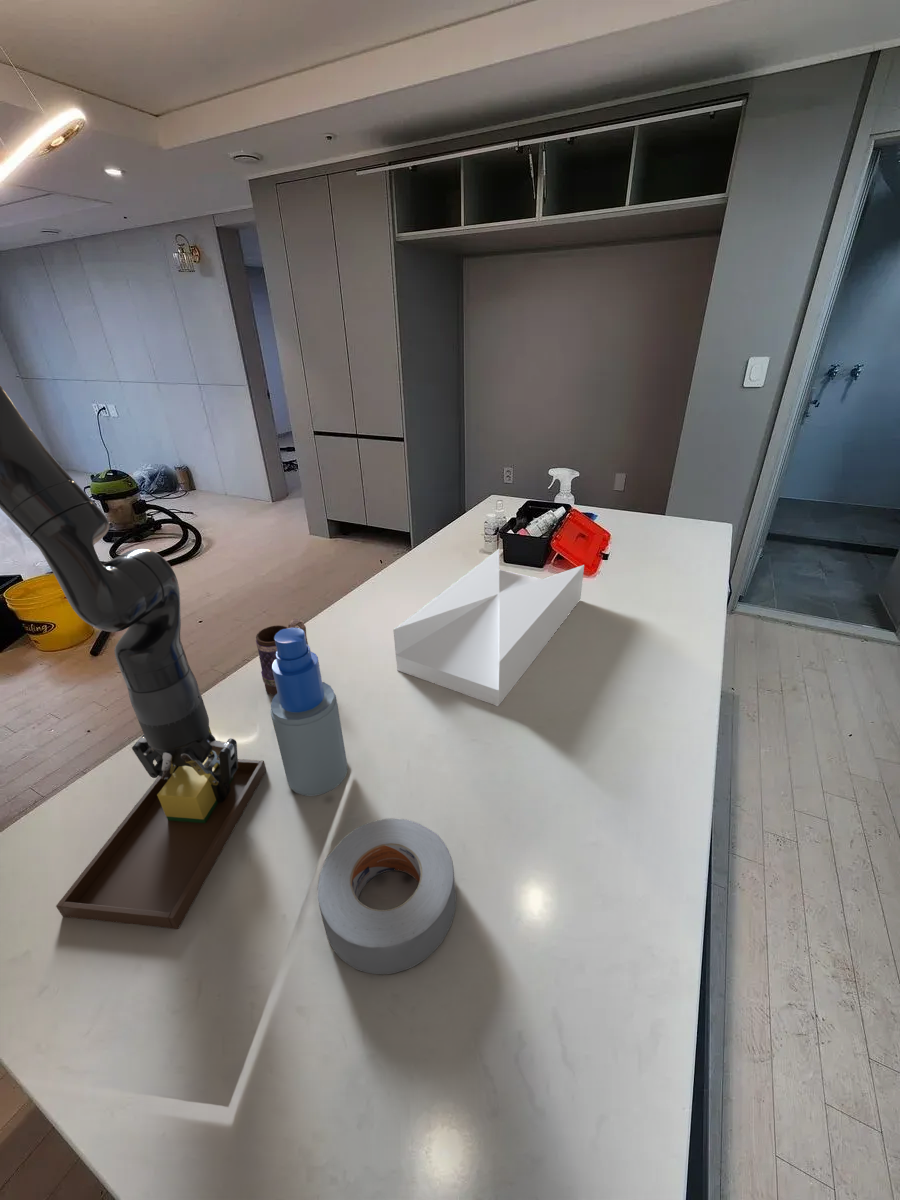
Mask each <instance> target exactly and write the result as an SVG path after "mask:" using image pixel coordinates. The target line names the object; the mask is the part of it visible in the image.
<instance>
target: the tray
mask: <svg viewBox="0 0 900 1200" xmlns="http://www.w3.org/2000/svg"><path fill="white" fill-rule="evenodd" d="M266 772H267V767H266V764H265V761H264V760H259V759H258V760H256V759H244V758H243V759H241V758H238V769H237V771H236V772H235V774H234V775H233V777H234V778H233V780H232V781H231V783H230V784H229V785H230V788H231V790H230V792H229V794H228V795H227V797H226V799H224V801H223V802H218V804H217V805H216V807H215V809H214V810H213V812H212V814H211V815H210V817H209V818H208V820H207V822H206V823H195V822H183V821H170V820H168V819H167V816H166V815H165V812H164V810H163V808H162V805H161V803H160V801H159V798H158V796H157V794H158V793H159V792H160V790H161V789H162V788H163V787H164V785H165V784H166V783H167V782H166V781H164V780H163V779H162V777H161V776H158V777H157V778H155V780H154V781H153V783H151V785H150V787H149V788H148V789H147V790H146V791H145V793H144V794H143V795H142V796H141V797H140V799H139V800H138V801H137V802H136V804H135V805H134V807H132V809H131V810H130V811H129V813H128V814H127V815H126V817H125V818H123V820H122V822H121V823H120V824H119V825H118V827H117V828H116V829H115V831H114V832H113V833H112V834H111V835H110V837H108V839H107V841H106V842H105V843H104V844H103V845H102V846H101V848H100V850H99V851H98V852H97V853H96V855H95V856H94V857H93V858H92V860H91V861H90V862H89V864H87V866H86V868H85V869H84V870H83V871H82V872H81V874H80V875H79V876H78V877H77V879H76V880H75V881H74V882H73V884H72V885H71V886H70V887H69V888H68V890H67V891H66V893H65V894H64V895H63V897H62V898H61V899H60V900H59V901H58V903H57V904H55V908H56V909H57V910H58V913H60V915H61V917H63V918H71V919H80V920H89V921H97V922H98V921H99V922H107V923H117V924H126V925H135V926H145V927H154V928H164V929H173V930H179V929H180V927H181V925H182V923H183V922H184V920H185V918H186V916H187V914H188V913H189V911H190V909H191V907H192V905H193V903H194V902H195V900H196V898H197V896H198V894H199V893H200V891H201V889H202V888H203V886H204V883H205V882H206V880H207V878H208V877H209V875H210V873H211V871H212V869H213V868H214V866H215V865H216V863H217V860H218V859H219V857H220V855H221V853H222V851H223V850H224V848H225V846H226V844H227V843H228V841H229V839H230V837H231V836H232V833H233V832H234V830H235V828H236V826H237V824H238V823H239V821H240V819H241V817H242V816H243V814H244V812H245V811H246V808H247V806H248V805H249V803H250V801H251V800H252V798H253V796H254V794H255V793H256V790H257V789H258V787H259V785H260V783H261V782H262V780H263V778H264V776H265V774H266Z"/></svg>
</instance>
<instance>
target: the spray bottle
mask: <svg viewBox="0 0 900 1200" xmlns="http://www.w3.org/2000/svg"><path fill="white" fill-rule="evenodd" d="M274 639H275V644H276V648H277V651H276V660H275V661H274V662H273V664H272V671H273V675H274V680H275V684H276V688H277V694H276V695H275V696H274V695H273V697H272V700H271V703H270V716H271V721H272V725H273V730H274V733H275V737H276V741H277V745H278V750H279V753H280V757H281V761H282V765H283V769H284V773H285V778H286V781H287V784H288V786H289V789H291V790H292V791H293V792H295V794H299V795H302V796H307V797H309V796H310V797H315V796H319V795H324V794H327V793H328V792H330V791H332V790H334V789H336V787H338V786H339V785H340V784H341V783H342V782H343V780H344V779H345V778H346V776H347V773H348V770H349V769H348V760H347V753H346V748H345V743H344V742H345V741H344V736H343V730H342V724H341V723H342V722H341V718H340V717H341V716H340V711H339V706H338V705H339V704H338V700H337V695H336V693H335V691H334V689H333V688H332V686H331V685H329V684H328V683H326V682H325V681H323V678H322V674H321V672H322V671H321V668H320V662H319V657H318V656H317V654H316V653H315V652H313V651H311V647H310V645H309V644H308V645H307V643H306V637H305V632H304V631H303V630H302V629H300V628H299V627H295V628H286V629H282V630H280V631H279V632H277V633H276V635H275V637H274Z"/></svg>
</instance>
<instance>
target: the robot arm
mask: <svg viewBox="0 0 900 1200" xmlns="http://www.w3.org/2000/svg"><path fill="white" fill-rule="evenodd" d="M0 510H1V511H2V512H3V514H5V515H6V516H7V517H8V519H10V520H11V522H12V523H14V524H15V525H16V526H17V527H18V529H19V530H20V531H21V532H22V533H23V534H24V535H25V536H26V537H27V538H28V539H29V540H30V541H31V542H32V543H33V544H34V545H35V546H36V547H37V548H38V549H39V551H40V552H41V554H42V556H43V558H44V559H45V561H46V564H47V565H48V566H49V568H50V570H51V571H52V573H53V575H54V577H55V579H56V580H57V583H58V584H59V586H60V588H61V590H62V592H63V594H64V596H65V598H66V600H67V602H68V604H69V605H70V607H71V608H72V610H73V611H74V612H75V614H76V615H77V616H78V617H79V618H80V619H81V620H82V621H83V622H85V623H86V624H87V625H89V626H91V627H93V628H95V629H97V630H100V631H104V632H109V633H116V632H117V633H118V632H122V631H124V630H126V631H125V632H124V634H122V636H121V637H120V638H119V639H118V641H117V642H116V644H115V646H114V657H115V660H116V663H117V666H118V669H119V671H120V673H121V676H122V679H123V680H124V683H125V686H126V688H127V691H128V696H129V701H130V704H131V707H132V710H133V712H134V714H135V716H136V718H137V721H138V724H139V726H140V729H141V731H142V733H143V734H142V736H141V737H140V738H139V739H138V740H137V741H136V742H135V743H134V744H133V746H132V747H131V750H132V751H133V753H134V754H135V756H136V757H137V759H138V761H139V762H140V763H141V765H142V767H143V768H144V769H145V771H146V772H147V774H148V775H149V777H151V778H153V779H157V778H158V776H161V777H162V779H163V780H164V781H166V782H167V781H168V780H169V779H170V777H171V776H172V775H173V773H174V772H175V771H176V769H177V768H178V767H179V766H189V767H192V768H193V769H194V770H195V771H196V772H197V773H198V774H199V775H200V776H203V775H204V776H205V777H206V778H207V779H208V780H209V782H210V783H211V787H212V789H213V792H214V795H215V798H216V801H217V802H223V801H224V799H226V797H227V795H228V794H229V792H230V790H231V788H230V785H229V782H230V780H231V779H232V777H233V775H234V774H235V772H236V771H237V769H238V759H239V758H238V742H237V740H236V739H234V738H228V739H227V741H226V742H224V741H219V740H216V737H215V736H214V735H213V733H212V732H211V733H212V734H211V733H210V731H209V727H210V718H209V715H208V711H207V708H206V705H205V702H204V699H203V696H202V693H201V690H200V687H199V684H198V681H197V678H196V676H195V674H194V672H193V671H192V668H191V667H190V663H189V661H188V658H187V655H186V652H185V649H184V645H183V643H182V639H181V628H182V627H181V626H182V620H181V619H182V618H181V593H180V583H179V581H178V578H177V576H176V574H175V571H174V569H173V567H172V566H171V564H170V563H169V562H168V561H167V560H166V559H165V558H164V557H163V556H161V555H160V554H159V553H157V552H155V551H153V550H150V549H147V548H135V549H131V550H129V551H128V550H127V551H126V552H124V553H122V554H120V555H118V556H116V557H114V558H112V559H111V560H108V561H107V562H105V563H102V562H101V559H99V556H98V554H97V552H96V549H95V544H97V543H98V542H99V541H100V540H102V539H103V538H104V537H105V536H106V535H107V534H108V532H109V530H110V522H109V520H108V518H107V516H106V515H105V514H104V512H103V511H102V509H100V508H99V506H98V505H97V504H96V503H95V502H94V501H93V499H92V498H91V497H89V495H88V494H87V493H86V492H85V490H83V488H82V487H80V485H79V484H78V483H77V482H76V481H75V479H73V478H72V476H71V475H70V474H68V472H67V471H66V470H65V468H63V467H62V465H61V464H60V463H59V461H57V460H56V459H55V457H54V456H53V455H52V454H51V452H49V450H48V449H47V448H46V447H45V445H44V444H43V443H42V441H41V440H40V439H39V438H38V436H37V435H36V433H35V432H34V431H33V430H32V428H31V427H30V425H29V424H28V423H27V421H26V420H25V419H24V417H23V416H22V414H21V413H20V412H19V410H18V409H17V407H16V406H15V404H14V403H13V401H12V400H11V399H10V397H9V395H8V394H7V393H6V391H5V390H4V388H3V387H2V386H1V384H0ZM207 757H208V759H207V761H206V762H205V764H204V765H203V763H204V761H205V760H206V758H207ZM154 761H155V762H156V764H154ZM213 767H214V768H215V769H216V772H215V773H214V772H213V771H212V768H213Z"/></svg>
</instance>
